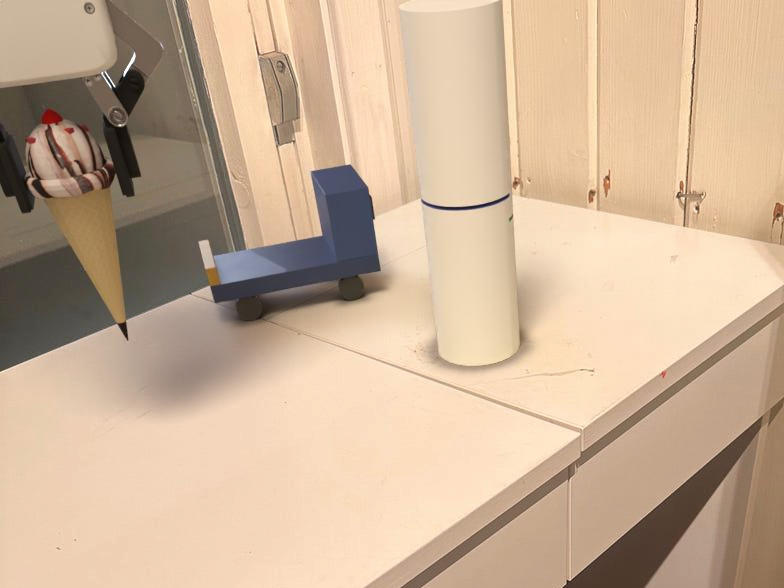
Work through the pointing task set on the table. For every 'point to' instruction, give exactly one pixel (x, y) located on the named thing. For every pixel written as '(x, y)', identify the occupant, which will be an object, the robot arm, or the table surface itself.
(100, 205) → the ice cream cone
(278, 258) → the flatbed truck
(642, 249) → the table surface
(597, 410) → the table surface
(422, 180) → the cylindrical container
